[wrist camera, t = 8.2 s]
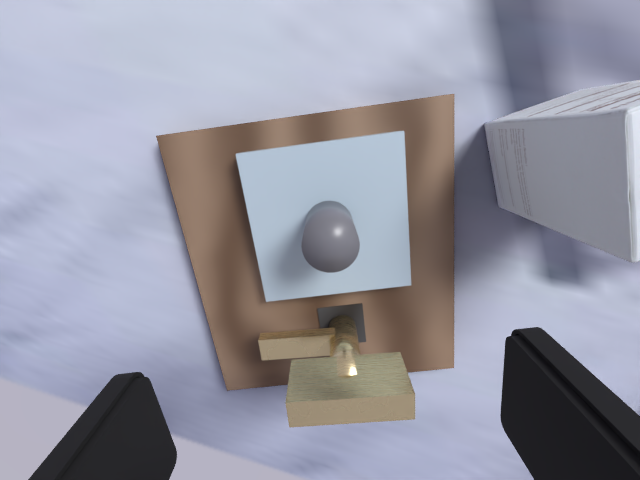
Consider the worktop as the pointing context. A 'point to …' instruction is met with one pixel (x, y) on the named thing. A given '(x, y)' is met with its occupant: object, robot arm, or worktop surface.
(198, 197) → the board
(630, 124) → the supplement box
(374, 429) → the worktop surface
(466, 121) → the worktop surface
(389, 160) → the lid
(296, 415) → the key
